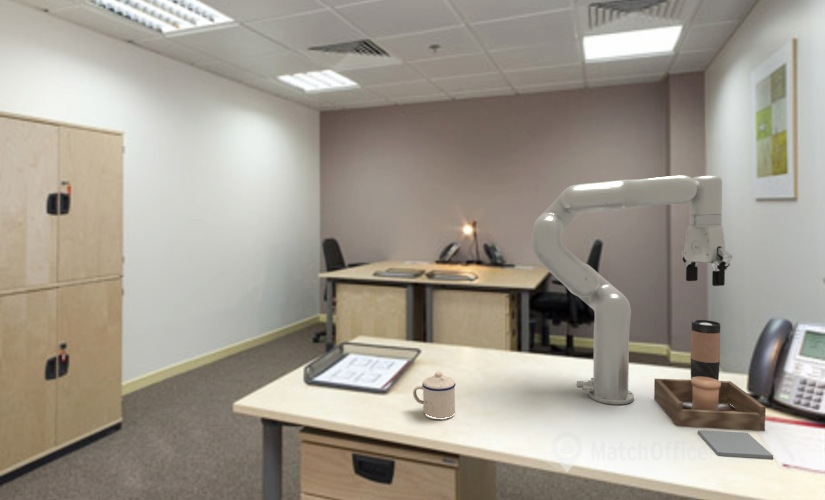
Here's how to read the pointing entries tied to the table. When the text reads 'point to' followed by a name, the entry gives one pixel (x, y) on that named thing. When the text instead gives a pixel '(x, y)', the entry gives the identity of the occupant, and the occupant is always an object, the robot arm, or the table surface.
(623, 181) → the robot arm
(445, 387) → the teacup with lid
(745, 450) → the slate mat
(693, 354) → the travel mug
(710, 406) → the terracotta pot
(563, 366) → the table surface
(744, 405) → the brown wooden square frame
